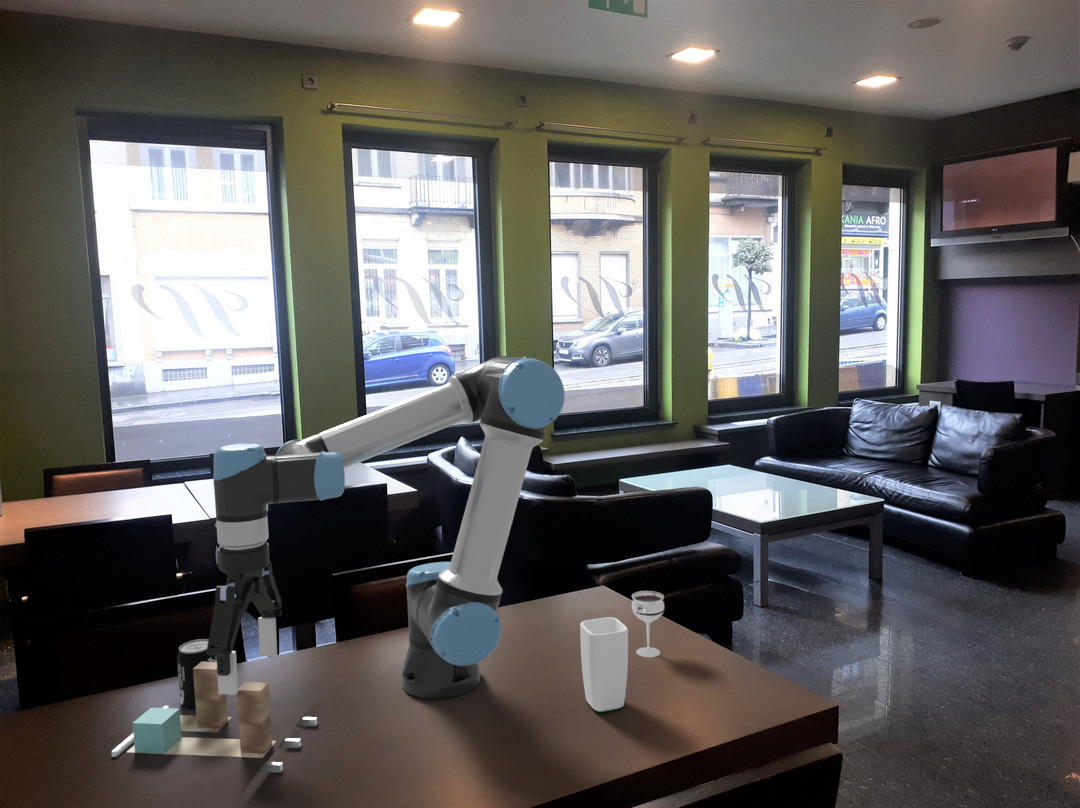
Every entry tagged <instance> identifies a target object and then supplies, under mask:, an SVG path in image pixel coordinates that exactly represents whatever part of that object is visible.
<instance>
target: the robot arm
mask: <svg viewBox="0 0 1080 808" xmlns="http://www.w3.org/2000/svg"><path fill="white" fill-rule="evenodd" d="M565 395H566V394H565V388H564V383H563V381H562V379H561V378H560V374H558V372H557V371H556V370H555V369H554V368H553V366H551V365H549V364H548V363H546V362H544V361H542V360H539V359H536V358H534V357H528V356H523V357H520V356H512V355H501V356H497V357H493V358H490V359H488V360H485V361H484V362H482V363H479V364H476V365H475V366H473V367H470V368H468V369H466V370H464V371H461V372H459V373H457V374H454V375H452V376H450V377H449V379H448V381H447V383H446V384H443V385H441V386H438V387H435V388H432V389H430V390H427V391H425V392H422V393H420V394H419V393H418V395H414V396H412V397H409V398H407V399H403V400H402V401H399V402H396V403H394V404H391V405H389V406H385V407H384V408H381V409H379V410H376V411H373V412H371V413H368V414H366V415H363V416H360V417H358V418H355V419H353V420H350V421H348V422H347V421H346V422H345V423H343V424H339V425H337V426H335V427H331V428H329V429H327V430H324V431H322V432H319V433H317V434H315V435H312V436H309V437H306V438H303V439H292V440H289V441H287V442H285V443H283V444H282V445H281V446H280V447H279V448H278V449H277V452H276V453H275V454H276V455H267V454H266V452H265V448H264V446H263V445H261V444H259V443H235V444H228V445H223V446H220V447H218V448H217V449H216V451H215V452H214V453H213V489H214V490H213V491H214V505H215V506H214V507H215V518H216V522H215V525H214V526H215V528H216V535H217V536H216V537H217V538H216V539H217V544H218V545H219V546H218V548H217V562H218V563H217V564H218V566H217V568H218V569H219V571H221V572H222V573H223V574H226V576H227V578H226V579H227V580H226V585H217V586H216V587H215V593H214V594H215V596H214V597H215V602H214V608H213V611H212V612H213V613H212V619H211V624H210V630H209V634H208V646H207V655H216V657H217V675H218V694H226V695H233V696H234V695H235V696H237V693H238V688H239V687H238V686H239V685H238V667H237V651H236V650H233V649H234V646H235V643H236V640H237V635H238V632H239V628H240V625H241V622H242V618H243V614H244V612H245V611H247V609H248V607H249V603H251V602H252V603H253V605H254V606H255V608H256V609H257V611H258V612H259V614H260V617H258V618H257V622H258V626H257V627H258V642H259V643H258V645H259V647H258V648H259V656H260V657H277V656H278V644H277V643H278V641H277V638H278V637H277V621H276V619H277V618H276V617H281V616H282V613H283V611H282V606H283V603H282V599H281V596H280V593H279V590H278V587H277V583H276V581H275V577H274V575H273V567H272V561H270V546H269V543H268V542H267V540H268V539H269V537H270V535H269V523H268V521H269V520H268V509H267V508H268V505H269V504H274V505H275V504H282V503H283V504H284V503H294V502H307V501H318V500H320V501H324V500H329V499H335V498H338V497H341V496H342V495H343V493H344V491H345V486H346V485H345V484H346V481H345V480H346V479H345V478H346V477H345V473H346V472H345V469H346V468H348V467H351V466H354V465H356V464H359V463H361V462H364V461H366V460H369V459H372V458H373V457H376V456H378V455H381V454H383V453H386V452H389V451H391V450H393V449H396V448H399V447H400V446H404V445H406V444H409V443H411V442H413V441H415V440H418V439H420V438H421V439H422V438H423V437H426V436H428V435H430V434H433V433H436V432H439V431H440V430H443V429H446V428H448V427H451V426H453V425H456V424H457V423H461V422H463V423H466V424H468V425H469V424H473V423H474V422H477V421H480V422H479V426H480V427H481V430H482V431H483V433H484V440H483V443H482V447H481V450H480V455H479V459H478V461H477V465H476V468H475V472H474V476H473V480H472V484H471V488H470V491H469V494H468V498H467V502H466V505H465V510H464V513H463V516H462V520H461V524H460V528H459V531H458V535H457V538H456V543H455V546H454V550H453V554H452V556H451V561H437V562H430V563H424V564H420V565H417V566H414V567H412V568H411V569H409V570H408V572H407V575H406V584H405V587H406V593H407V594H406V598H407V600H406V601H407V614H408V615H407V616H408V617H407V619H408V640H409V641H408V642H409V643H408V644H409V645H408V648H407V652H406V654H405V655H406V656H405V659H404V663H403V666H402V669H401V686H402V689H403V691H405V692H406V693H408V694H409V695H410V696H414V697H417V698H421V699H430V700H437V699H447V698H453V697H457V696H458V697H459V696H460V695H463V694H466V693H468V692H470V691H471V690H473V689H475V687H477V686H478V685H479V684H480V682H481V667H480V662H481V661H483V660H485V659H486V658H488V657H489V656H490V655H491V654H492V653H493V652H494V651H495V649H496V648H497V647H498V644H499V643H500V640H501V637H502V622H501V619H500V616H499V615H498V610H499V609H498V608H499V606H500V601H501V597H502V594H503V588H502V587H501V585H500V583H499V581H498V576H499V571H500V568H501V564H502V561H503V558H504V553H505V550H506V546H507V543H508V538H509V536H510V531H511V527H512V525H513V520H514V517H515V513H516V509H517V506H518V501H519V498H520V494H521V491H522V488H523V483H524V481H525V476H526V471H527V468H528V464H529V461H530V458H531V454H532V451H533V449H534V447H536V446H537V445H540V444H541V443H542V442H544V439H545V435H546V432H547V428H548V425H550V424H551V423H553V422H554V421H556V419H558V417H559V416H560V414H561V412H562V411H563V410H562V409H563V408H564V403H565Z"/></svg>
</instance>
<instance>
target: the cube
mask: <svg viewBox="0 0 1080 808" xmlns="http://www.w3.org/2000/svg"><path fill="white" fill-rule="evenodd" d="M180 711H181V709H180V708H175V707H174V708H172V707H171V708H170V707H169V708H163V707H150V708H149V709H148V710H147V711H145V712H144V713H143V714H142V715H140V716H139V717H138V718H137V719H136V720H134V721H133V722H132V733H133V735H134V742H133V746H134V747H135V753H134V754H152V753H159V754H160V755H165V754H164V753H166V752H167V751H168V750H169V749H170V748H171V747H172V746H173V745H174V744H175V743H176V742H177V741H178V740H179V739H180V738H181V737H183V736H182V731H181V722H180V715H181V712H180ZM159 754H158V755H159Z"/></svg>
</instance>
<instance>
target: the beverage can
mask: <svg viewBox="0 0 1080 808" xmlns="http://www.w3.org/2000/svg"><path fill="white" fill-rule="evenodd" d="M208 640H209V638H208V639H207V638H201V639H193V640H189V641H187V642H184V643H183V644H181V645H179V647H178V650H179V651H178V654H177V655H176V660H177V661H176V662H177V674H178V675H177V676H178V687H179V689H178V690H179V699H180V702H179V703H180V707H181V708H182V709H185V710H193V711H194V710H195V711H196V703H195V689H194V676H193V668H194V667H196V666H197V665H198V664H199V663H201V662H217V657H216V655H207V646H208Z"/></svg>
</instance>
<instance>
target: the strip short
mask: <svg viewBox="0 0 1080 808" xmlns="http://www.w3.org/2000/svg"><path fill="white" fill-rule="evenodd" d="M193 676H194V689H195V703H196V709H195V713H196V714H195V715H182V714H180V722H181V732H200V733H204V732H205V733H218V732H219V731H220V730H221V729H222V728H223V727H225V725H226V724H227V723H228V722H230V720H231V719H232V718H233V716H229V715H228V702H227V694H218V675H217V662H201V663H199V664H198V665H197V666H196V667H194V668H193Z"/></svg>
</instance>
